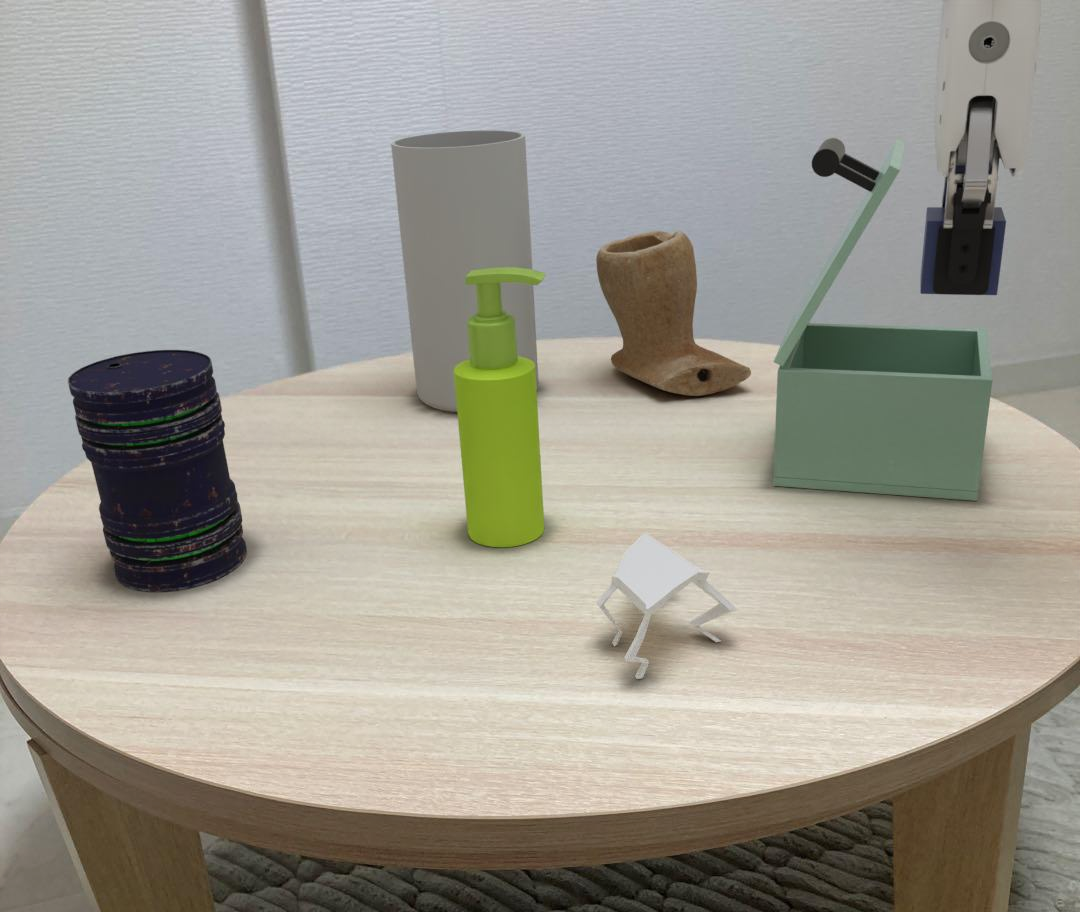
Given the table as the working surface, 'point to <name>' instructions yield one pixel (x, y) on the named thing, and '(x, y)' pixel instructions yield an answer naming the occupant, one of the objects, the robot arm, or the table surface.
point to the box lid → (824, 165)
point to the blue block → (930, 244)
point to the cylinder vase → (461, 244)
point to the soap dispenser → (499, 420)
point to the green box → (884, 410)
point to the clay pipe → (660, 315)
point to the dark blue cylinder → (160, 468)
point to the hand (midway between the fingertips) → (958, 280)
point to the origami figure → (658, 588)
